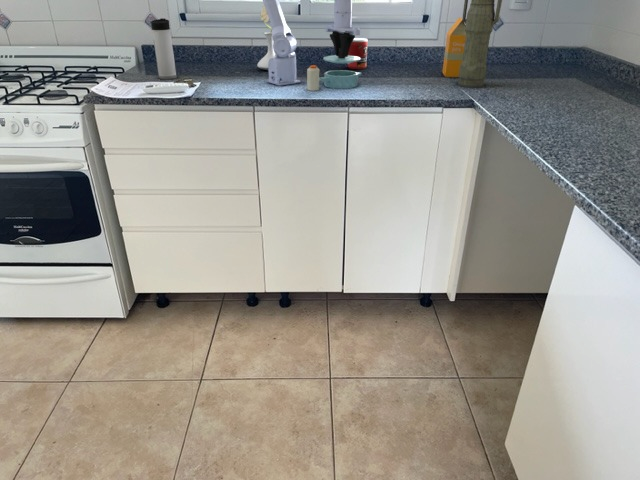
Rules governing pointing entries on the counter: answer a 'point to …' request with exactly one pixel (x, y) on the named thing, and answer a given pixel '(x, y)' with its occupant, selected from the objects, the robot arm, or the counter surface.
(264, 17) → the flower in vase
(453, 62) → the orange juice
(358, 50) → the canned food
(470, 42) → the thermos
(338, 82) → the pot
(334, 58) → the lid
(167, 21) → the travel mug
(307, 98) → the counter surface
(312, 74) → the bottle
